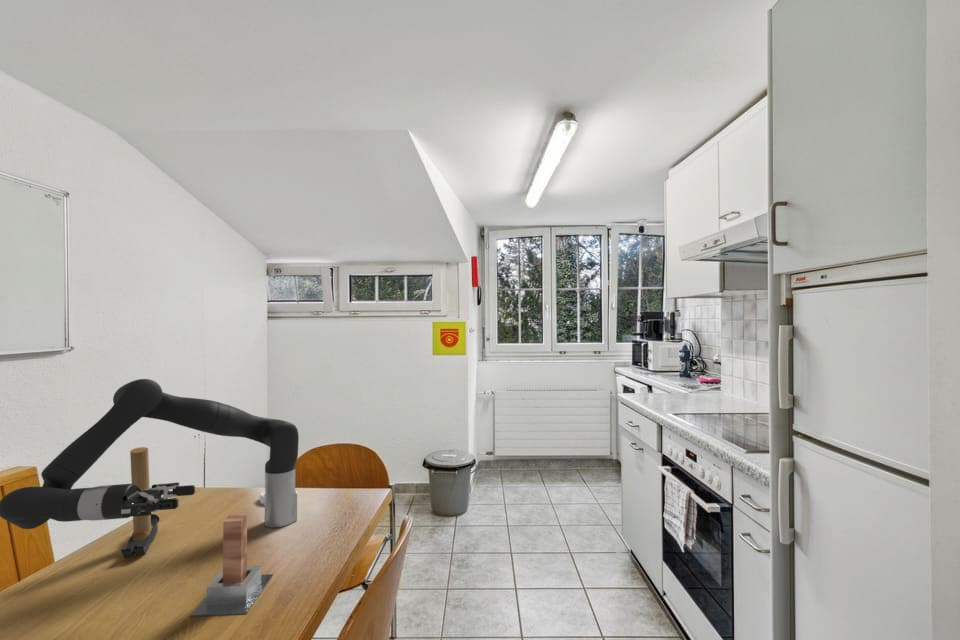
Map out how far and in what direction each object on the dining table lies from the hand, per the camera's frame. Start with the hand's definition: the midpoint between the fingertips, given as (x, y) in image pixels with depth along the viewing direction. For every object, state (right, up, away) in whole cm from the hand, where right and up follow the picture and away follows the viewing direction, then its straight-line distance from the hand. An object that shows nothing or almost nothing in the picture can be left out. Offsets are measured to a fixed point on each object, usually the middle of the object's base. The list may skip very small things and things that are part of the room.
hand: (186, 496), depth 109 cm
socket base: (+11, -25, +1) cm, 27 cm away
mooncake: (-6, -26, +63) cm, 69 cm away
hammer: (-30, -25, +27) cm, 47 cm away
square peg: (+11, -24, +1) cm, 26 cm away
